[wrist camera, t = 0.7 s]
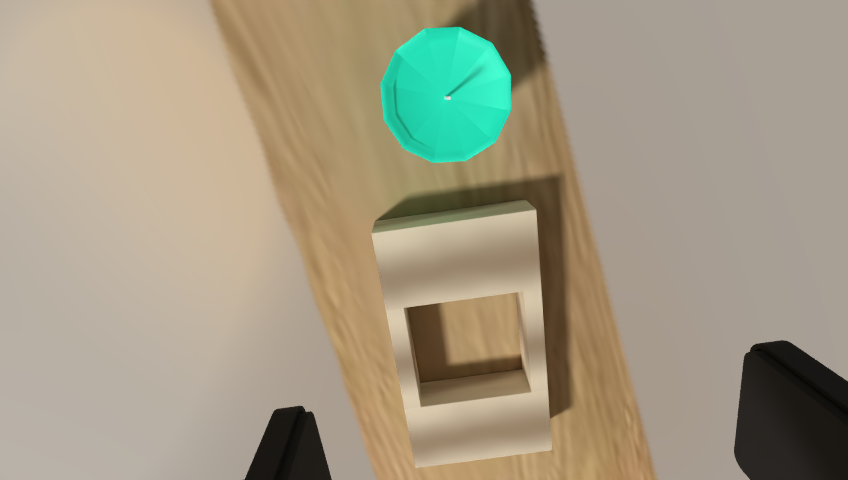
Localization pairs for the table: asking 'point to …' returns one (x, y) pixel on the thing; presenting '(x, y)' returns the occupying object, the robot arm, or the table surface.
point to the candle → (446, 94)
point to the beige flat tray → (457, 280)
